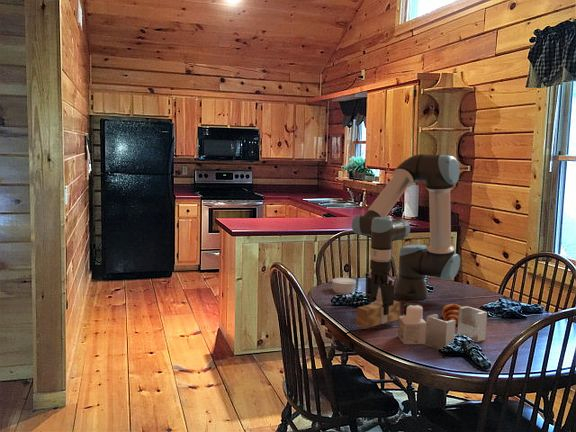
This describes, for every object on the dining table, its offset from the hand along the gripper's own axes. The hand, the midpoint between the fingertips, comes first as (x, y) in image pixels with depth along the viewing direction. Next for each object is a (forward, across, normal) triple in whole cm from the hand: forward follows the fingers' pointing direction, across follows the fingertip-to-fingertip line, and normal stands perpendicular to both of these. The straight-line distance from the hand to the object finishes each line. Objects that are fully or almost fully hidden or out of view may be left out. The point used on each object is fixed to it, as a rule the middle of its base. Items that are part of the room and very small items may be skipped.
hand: (378, 320), depth 200 cm
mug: (+3, -11, +12) cm, 17 cm away
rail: (0, 0, 0) cm, 0 cm away
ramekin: (+4, -45, +22) cm, 50 cm away
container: (+3, +16, +1) cm, 16 cm away
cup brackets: (+3, +25, +12) cm, 28 cm away
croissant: (+4, +9, +33) cm, 35 cm away
